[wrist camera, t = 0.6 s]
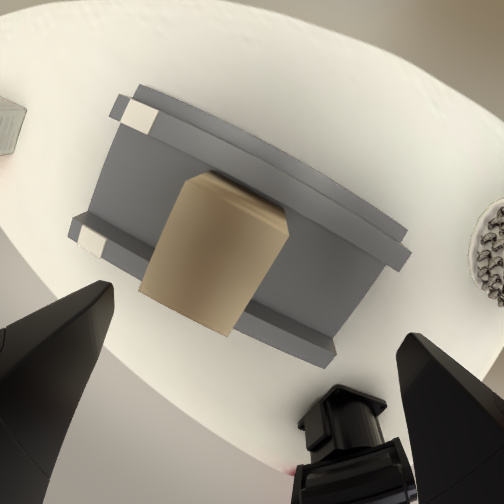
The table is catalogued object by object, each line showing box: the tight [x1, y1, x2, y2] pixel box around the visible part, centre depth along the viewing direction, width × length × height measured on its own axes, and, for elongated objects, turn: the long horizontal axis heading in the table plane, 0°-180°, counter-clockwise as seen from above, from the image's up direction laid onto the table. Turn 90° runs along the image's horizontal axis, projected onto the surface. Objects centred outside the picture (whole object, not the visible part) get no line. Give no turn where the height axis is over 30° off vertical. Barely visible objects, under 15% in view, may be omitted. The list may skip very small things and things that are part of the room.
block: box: [138, 170, 289, 337], centre depth 17 cm, size 5×6×6 cm
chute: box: [68, 84, 412, 369], centre depth 19 cm, size 20×12×3 cm, turn 62°
